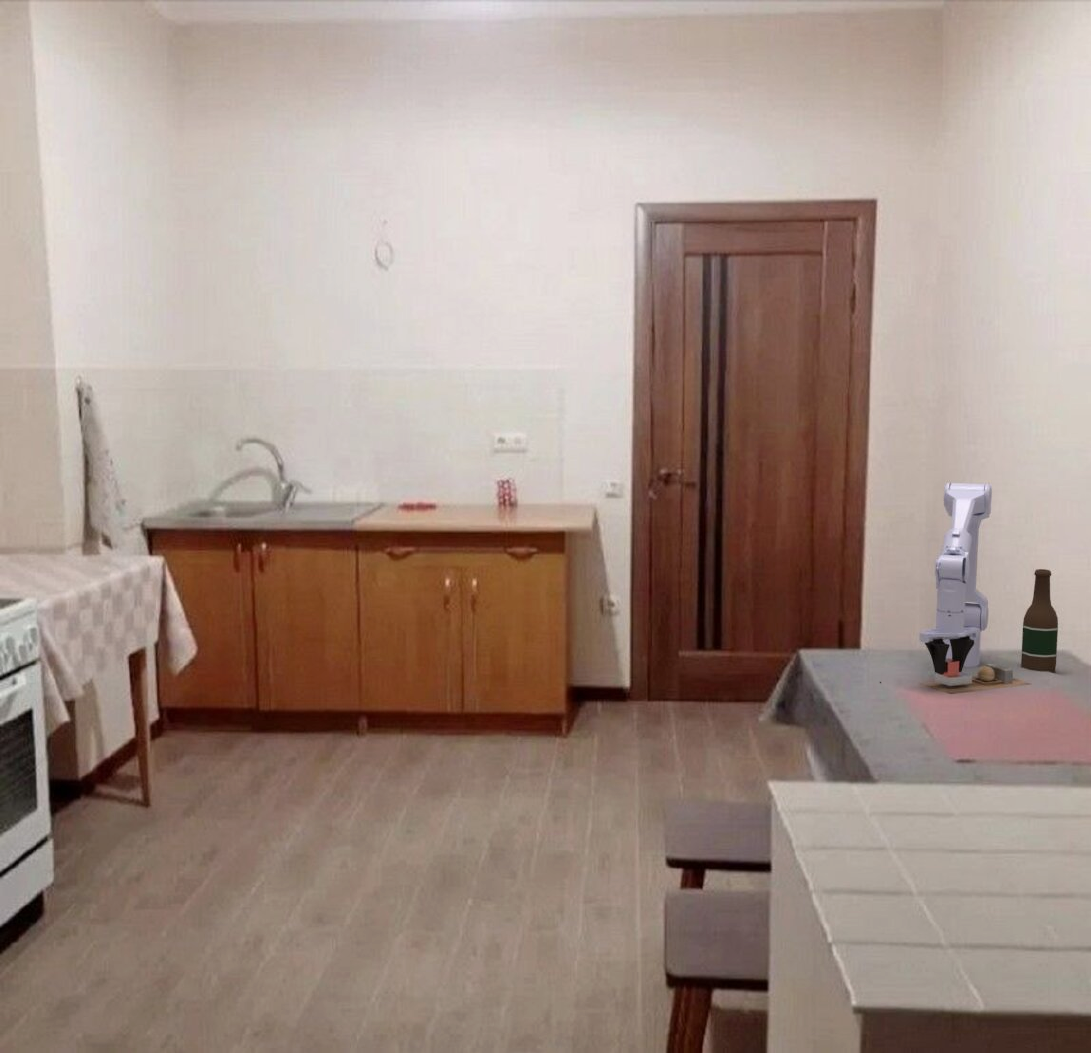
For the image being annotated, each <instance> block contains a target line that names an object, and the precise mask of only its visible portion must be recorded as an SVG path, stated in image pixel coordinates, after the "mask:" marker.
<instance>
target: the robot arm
mask: <svg viewBox="0 0 1091 1053" xmlns="http://www.w3.org/2000/svg"><path fill="white" fill-rule="evenodd" d="M992 489H993V488H992V486H991V484H990V483H967V482H966V483H963V482H961V483H959V482H947V483H945V486H944V490H943V506H944V508H945V511H946V513H947V515H948V517H950V518H951V525H950V526H951V527H950V529H949V530H947V531H946V532H945V533H944V536H943V541H942V545H941V546H942V547H941V551H940V556H938V555H937V557H936V559H935V563H934V564H935V565H934V576H935V588H936V589H937V591H936V612H935V613H936V614H935V615H936V617H935V618H936V619H935V628H934V629H933V628H932V629H928V630H926V631H920V632H919V642H922V643H924V644H925V646H926V648H927V650H928V652H929V655H930V657H931V660H932V665H933V669H934V673H935V674H936V673H938V674H944V671H945V661H946V659H948V658H950V659H953V660H957V661H959V672H963V669H964V667H965V668H967V667H978V666H980V663H981V662H980V661H981V660H980V659H981V658H980V656H981V655H980V654H981V636H982V631H983V632H984V631H985V630H986V629H987V628H988V623H989V606H988V605H989V600H988V598H987V596H985V595H984V594H983V593H982V592H981V591H979V590H978V589H977V571H978V556H979V554H978V552H979V532H980V531H979V529H980V525H981V524H982V521H983V520H985V519H988V518H990V515H991V510H992V497H993V496H992V495H993V494H992V493H993V491H992Z"/></svg>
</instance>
